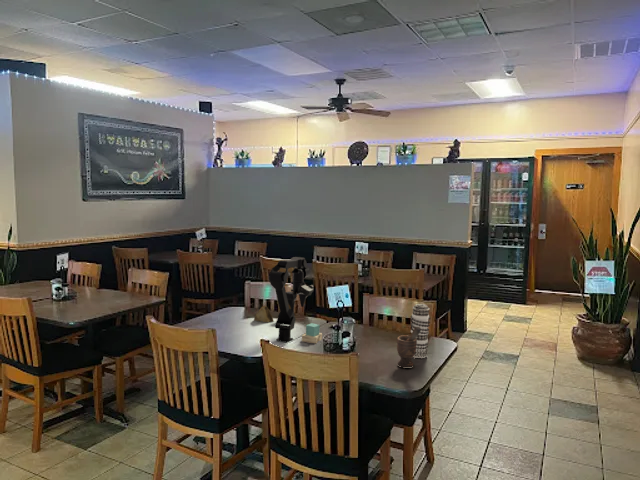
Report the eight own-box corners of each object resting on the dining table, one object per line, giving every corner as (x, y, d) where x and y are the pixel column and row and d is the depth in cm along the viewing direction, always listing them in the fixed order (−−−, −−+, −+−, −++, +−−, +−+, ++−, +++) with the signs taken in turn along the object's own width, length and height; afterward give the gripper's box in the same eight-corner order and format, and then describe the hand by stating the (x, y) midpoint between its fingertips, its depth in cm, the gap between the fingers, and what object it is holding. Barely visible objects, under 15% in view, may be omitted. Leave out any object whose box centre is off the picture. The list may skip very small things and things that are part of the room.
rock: (248, 317, 281) (259, 318, 274) (255, 304, 284) (265, 305, 277) (261, 325, 287) (271, 327, 280) (267, 312, 291) (277, 314, 283)
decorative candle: (414, 351, 236) (416, 301, 234) (431, 356, 230) (434, 305, 228) (404, 356, 229) (407, 304, 227) (422, 360, 223) (425, 308, 221)
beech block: (316, 344, 244) (316, 337, 244) (301, 341, 247) (302, 335, 246) (321, 339, 251) (322, 333, 251) (307, 337, 254) (308, 331, 254)
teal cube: (313, 336, 245) (314, 327, 244) (305, 334, 248) (306, 325, 247) (319, 334, 249) (319, 324, 249) (311, 332, 252) (311, 323, 251)
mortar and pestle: (424, 367, 215) (427, 324, 212) (416, 373, 208) (418, 328, 206) (401, 361, 221) (403, 319, 219) (392, 366, 215) (394, 323, 212)
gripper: (300, 285, 247) (300, 314, 249) (319, 279, 263) (319, 307, 264) (283, 282, 253) (282, 311, 255) (303, 276, 269) (302, 304, 270)
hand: (297, 308), depth 261 cm, fingers open, 9 cm apart
